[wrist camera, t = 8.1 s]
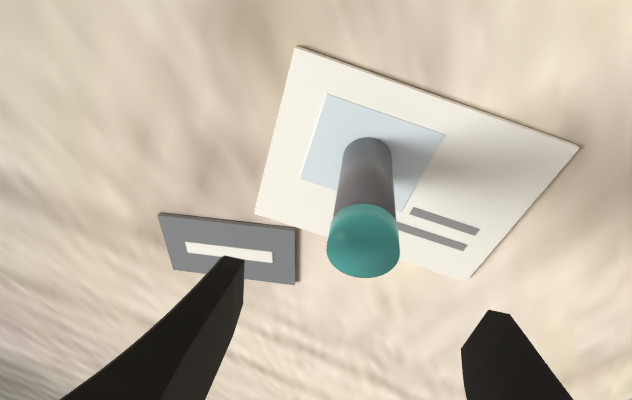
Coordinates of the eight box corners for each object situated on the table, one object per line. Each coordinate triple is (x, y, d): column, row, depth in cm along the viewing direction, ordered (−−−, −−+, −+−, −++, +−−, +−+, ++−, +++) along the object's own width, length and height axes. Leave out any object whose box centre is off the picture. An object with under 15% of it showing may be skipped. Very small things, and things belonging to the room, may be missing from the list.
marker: (403, 159, 18) (415, 255, 12) (365, 189, 19) (361, 287, 14) (367, 125, 17) (364, 211, 12) (331, 158, 19) (311, 249, 13)
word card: (295, 227, 22) (294, 231, 22) (295, 281, 25) (294, 285, 25) (159, 212, 23) (157, 216, 23) (175, 266, 26) (172, 270, 26)
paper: (575, 144, 17) (580, 148, 16) (464, 277, 23) (465, 282, 22) (296, 45, 16) (294, 47, 16) (255, 209, 22) (253, 214, 21)
